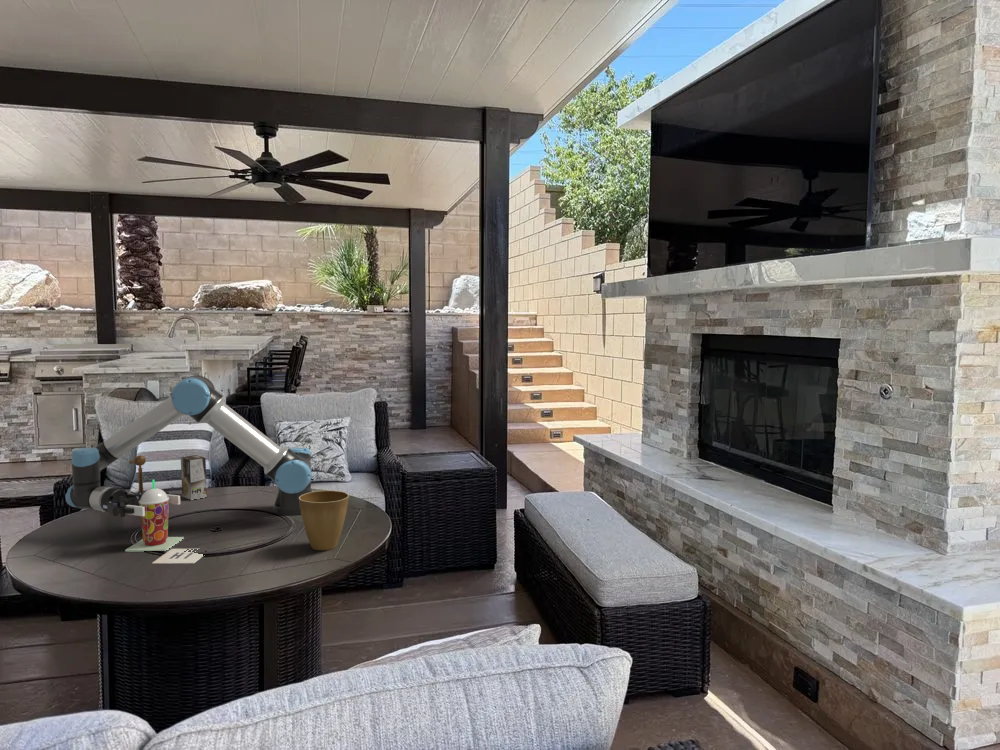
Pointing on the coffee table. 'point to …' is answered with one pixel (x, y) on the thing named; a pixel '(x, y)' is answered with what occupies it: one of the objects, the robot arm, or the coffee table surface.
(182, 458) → the coffee box
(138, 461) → the wooden tabletop sculpture
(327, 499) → the plant pot
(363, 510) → the coffee table surface
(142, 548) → the coaster
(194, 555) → the tile
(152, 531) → the smoothie
